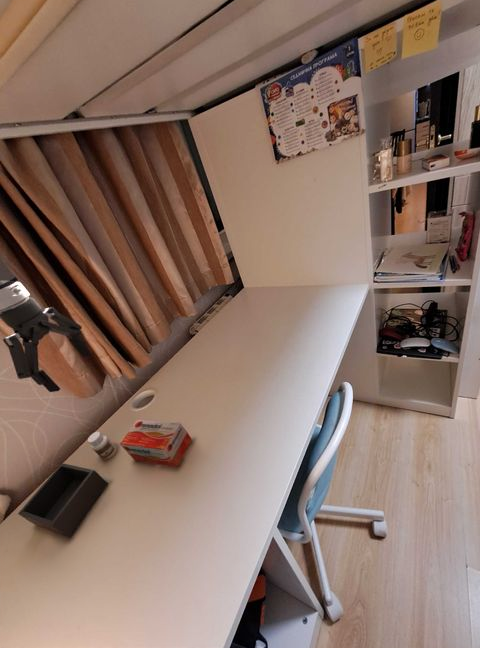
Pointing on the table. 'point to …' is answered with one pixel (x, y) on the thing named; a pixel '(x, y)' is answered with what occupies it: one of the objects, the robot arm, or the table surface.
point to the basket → (64, 499)
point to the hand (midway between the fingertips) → (72, 371)
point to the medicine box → (157, 442)
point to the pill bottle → (102, 445)
